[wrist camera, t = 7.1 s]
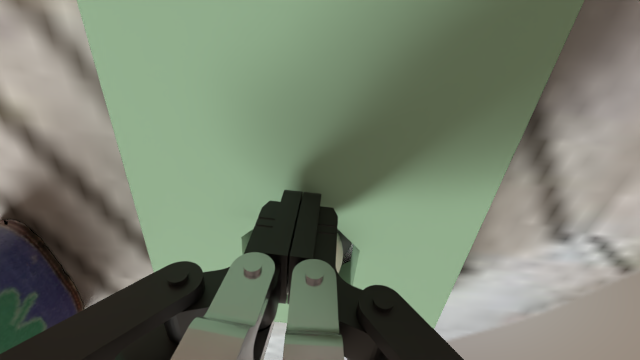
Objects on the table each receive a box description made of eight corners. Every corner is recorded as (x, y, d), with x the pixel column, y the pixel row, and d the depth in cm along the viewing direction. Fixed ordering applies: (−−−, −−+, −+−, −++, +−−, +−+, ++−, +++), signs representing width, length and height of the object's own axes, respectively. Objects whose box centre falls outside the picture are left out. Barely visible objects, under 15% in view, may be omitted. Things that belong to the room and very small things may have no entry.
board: (75, -235, 9) (-8, -300, 7) (612, -190, 9) (696, -245, 7) (183, 273, 20) (163, 307, 18) (420, 302, 20) (428, 340, 18)
